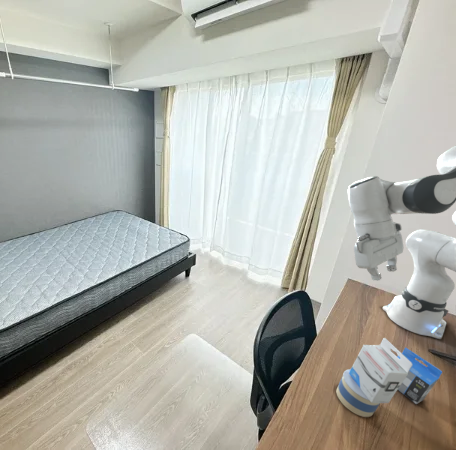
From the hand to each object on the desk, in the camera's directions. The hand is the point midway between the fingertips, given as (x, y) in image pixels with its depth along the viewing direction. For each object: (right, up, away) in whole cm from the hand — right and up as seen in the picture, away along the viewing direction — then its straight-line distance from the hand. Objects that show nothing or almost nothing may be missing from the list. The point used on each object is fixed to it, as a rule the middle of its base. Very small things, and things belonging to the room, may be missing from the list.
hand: (384, 275), depth 74 cm
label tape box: (+7, -36, +2) cm, 36 cm away
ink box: (-10, -30, -6) cm, 33 cm away
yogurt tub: (-11, -36, -2) cm, 38 cm away
